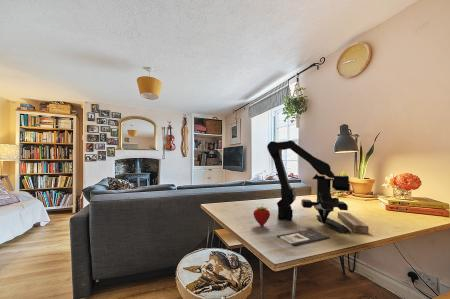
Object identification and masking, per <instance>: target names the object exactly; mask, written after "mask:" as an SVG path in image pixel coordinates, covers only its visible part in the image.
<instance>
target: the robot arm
mask: <svg viewBox="0 0 450 299" xmlns="http://www.w3.org/2000/svg"><path fill="white" fill-rule="evenodd" d="M266 148H267V151H268V153H269V155H270V157H271V159H273V163H274V166H275V169H276V174H277V178H278V180H279V184H280V196H281V198H280V199H279V201H277V202H276V204H277V220H280V221H293V216H294V212H293V209H292V204H293V203H294V202H295V200H296V199H297V195H298V194H297V193H296V190H295V187H292V186H291V185H290V181H289V178H288V176H287V174H288V173H287V172H286V167H285V164H284V161H283V154H282V153H283V152H282V151H283V150H288V149H289V150H291V151H293V152H294V153H295V154H296V155H297V156H299V157H300V158H301V159H303V160H305V161H306V162H307V163H308V164H309V165H311V167H312V168H313V169H314V170H315V171H316V172H317V173H318V174H317V173H315V175H314V176H313V177H312V180H316V201H312V200H311V199H303V198H302V199H301V202H300V203H301V206H302V208H303V209H304V208H306V209H311V208H314V210H316V211H317V213H318V215H320V218H321V221H322V222H321V221H320V222H321V224H324V225H326V224H325V221H326V219H327V218H329V217H328V216H329V214H330V213H331V212H334V210H335V208H337V209H339V210H340V211H349V206H348V204H347V203H346V202H344V201H341V200H340V199H339V197H333V196H332V192H331V187H332V189H334V191H337V192H348V193H349V192H350V180H349V179H350V177H349V175H335V173H334V172H333V171H332V168H331V165H330V163H328V162H326V161H324V160H322V159H320V158H318V157H316V156H314V155H313V154H311V153H310V152H308V151H307V150H305V149H304V148H303V147H301V146H300V145H298V143H296V141H293V140H288V141H287V140H286V141H280V142H277V141H269V142H268V144H267V146H266ZM331 184H332V185H331Z"/></svg>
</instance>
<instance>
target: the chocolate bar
mask: <svg viewBox="0 0 450 299" xmlns="http://www.w3.org/2000/svg"><path fill="white" fill-rule="evenodd" d="M276 237H277V238H279V239H280V240H282V241H283V242H286V243H288V244H289V245H291V246H293V247H296V246H301V245H306V244H310V243H314V242H320V241H324V240H329V239H331V238H330V236H328V235H326V234H324V233H321V232H318V231H317V230H315V229H313V228H310V229H305V230H304V229H303V230H299V231H294V232H287V233H283V234H279V235H277V234H276Z"/></svg>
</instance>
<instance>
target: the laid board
mask: <svg viewBox="0 0 450 299" xmlns="http://www.w3.org/2000/svg"><path fill="white" fill-rule="evenodd" d="M337 218H338V220H340V222H341V223H342V224H343V225H344V226H346V227H347V228H348V229H349V230H350V231H352V232H353V233H359V234H369V225H368V224H366V223H365V222H364V221H362V220H360V219H359V218H358V217H356V216H355V215H353V214H352V213H350V212H345V211H344V212H342V211H341V212H340V211H338V212H337Z"/></svg>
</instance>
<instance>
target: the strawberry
mask: <svg viewBox="0 0 450 299" xmlns="http://www.w3.org/2000/svg"><path fill="white" fill-rule="evenodd" d="M261 205H262V206H260V207H256V208H255V210H253V218H254V219H255V221H256V223H257V224H258V225H259V226H260V227H264V225H265V224H266V223H267V222H268V221H269V219H270V215H271V213H270V211H269V210H268V207H264V205H263V203H261Z"/></svg>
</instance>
